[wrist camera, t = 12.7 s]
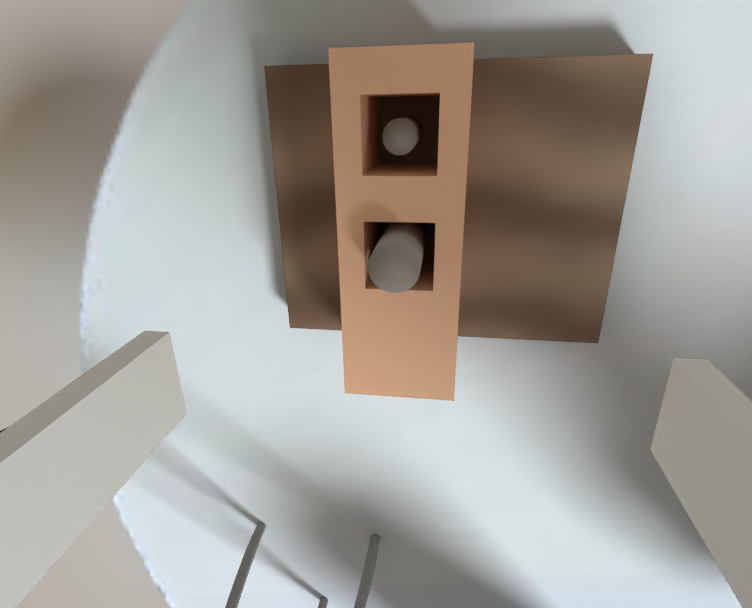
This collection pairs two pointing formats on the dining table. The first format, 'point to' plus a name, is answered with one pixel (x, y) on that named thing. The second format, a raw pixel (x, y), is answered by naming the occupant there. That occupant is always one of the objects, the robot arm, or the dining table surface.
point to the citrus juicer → (359, 604)
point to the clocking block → (399, 216)
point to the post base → (477, 192)
